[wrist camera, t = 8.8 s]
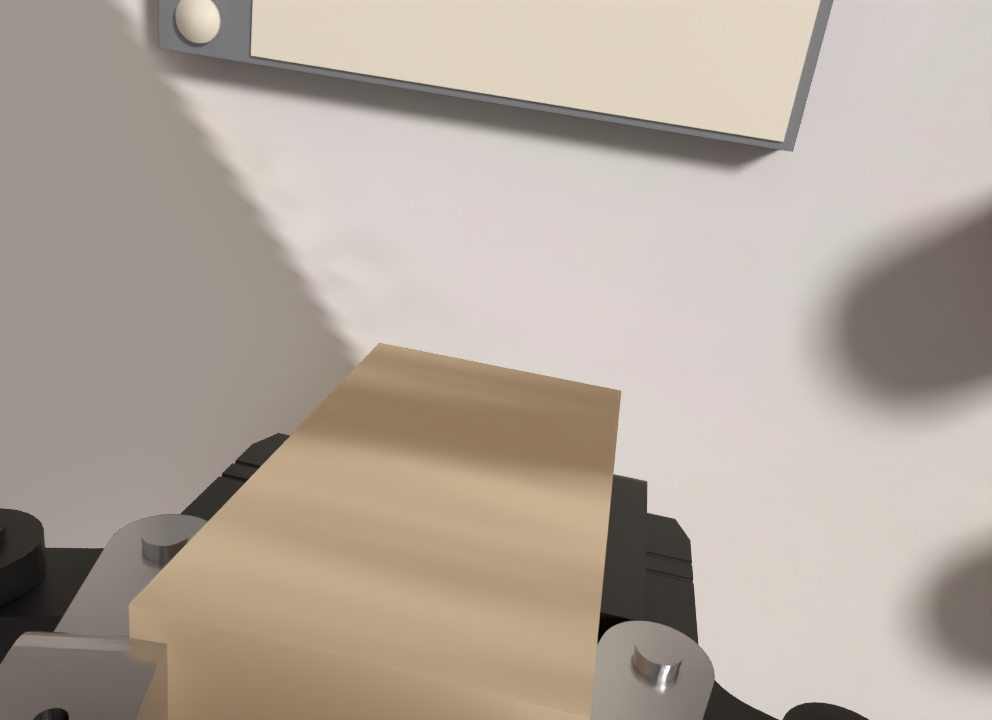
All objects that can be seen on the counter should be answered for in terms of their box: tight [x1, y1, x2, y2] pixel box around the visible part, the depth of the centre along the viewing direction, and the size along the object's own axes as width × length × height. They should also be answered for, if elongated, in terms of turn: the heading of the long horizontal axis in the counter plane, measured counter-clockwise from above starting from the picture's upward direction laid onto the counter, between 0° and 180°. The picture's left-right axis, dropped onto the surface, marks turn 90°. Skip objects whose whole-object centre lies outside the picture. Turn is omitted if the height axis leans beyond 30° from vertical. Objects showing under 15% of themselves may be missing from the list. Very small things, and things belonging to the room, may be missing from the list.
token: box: [129, 343, 621, 720], centre depth 11 cm, size 4×4×7 cm
